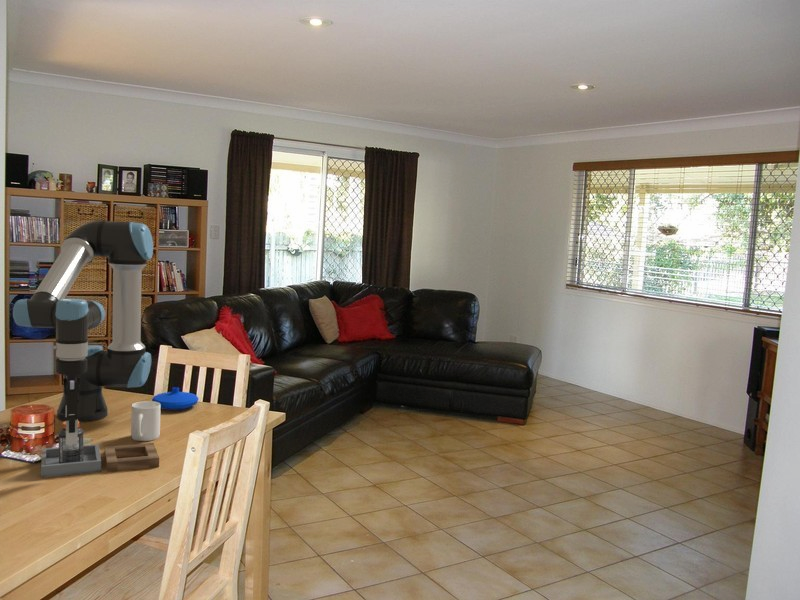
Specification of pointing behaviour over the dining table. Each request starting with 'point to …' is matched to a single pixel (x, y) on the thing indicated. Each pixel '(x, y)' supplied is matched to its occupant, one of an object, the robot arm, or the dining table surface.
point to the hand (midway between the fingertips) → (71, 436)
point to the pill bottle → (70, 447)
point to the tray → (53, 468)
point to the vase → (176, 399)
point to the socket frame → (134, 462)
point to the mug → (145, 421)
